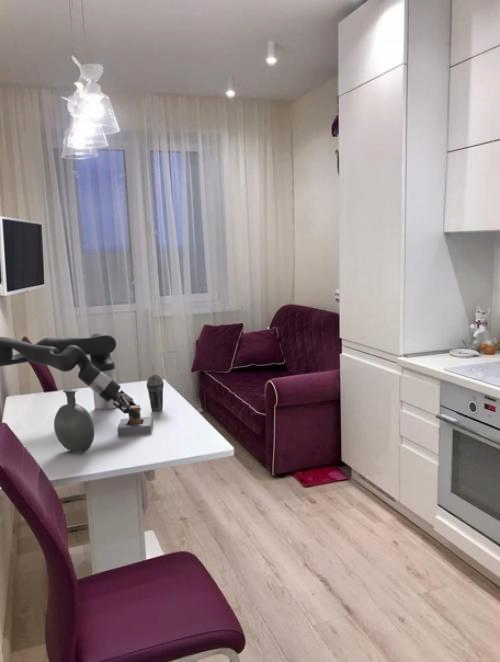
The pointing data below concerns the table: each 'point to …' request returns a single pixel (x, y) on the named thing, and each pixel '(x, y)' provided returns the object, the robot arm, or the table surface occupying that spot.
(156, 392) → the beverage cup
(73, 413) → the flask
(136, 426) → the socket
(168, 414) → the table surface
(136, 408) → the peg
